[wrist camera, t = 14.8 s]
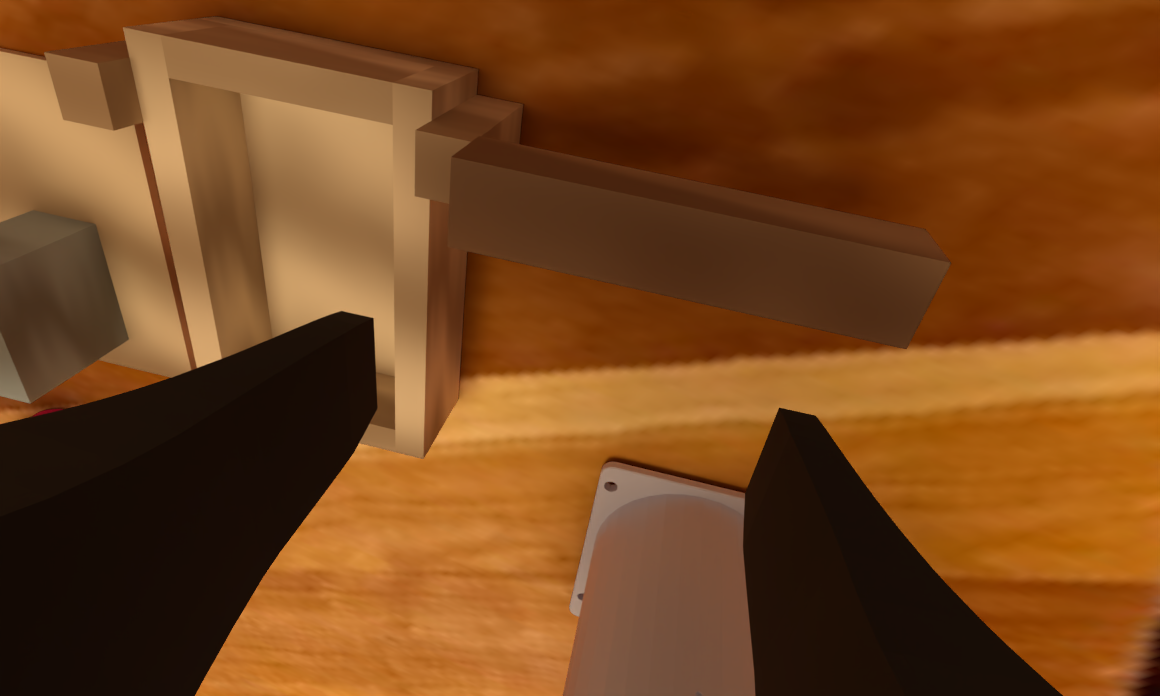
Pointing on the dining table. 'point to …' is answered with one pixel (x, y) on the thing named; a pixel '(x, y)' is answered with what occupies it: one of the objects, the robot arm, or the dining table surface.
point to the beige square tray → (303, 190)
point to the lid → (79, 245)
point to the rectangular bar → (694, 241)
